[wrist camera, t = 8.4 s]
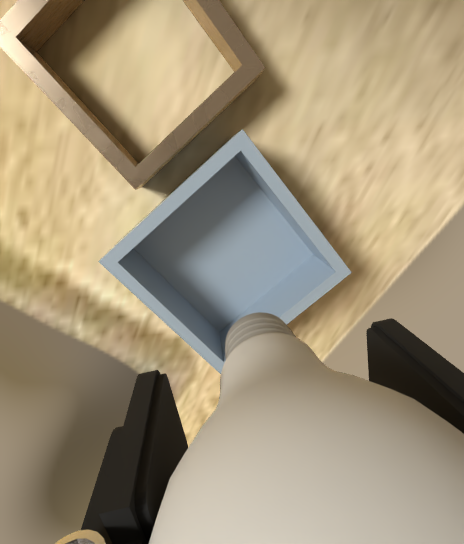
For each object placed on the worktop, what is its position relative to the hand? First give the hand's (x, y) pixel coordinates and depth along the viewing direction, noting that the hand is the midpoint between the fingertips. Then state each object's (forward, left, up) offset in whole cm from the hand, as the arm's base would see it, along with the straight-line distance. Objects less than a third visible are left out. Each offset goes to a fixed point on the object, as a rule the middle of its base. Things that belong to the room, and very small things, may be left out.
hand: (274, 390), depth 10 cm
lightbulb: (0, 0, -4) cm, 4 cm away
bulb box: (0, 0, -17) cm, 17 cm away
